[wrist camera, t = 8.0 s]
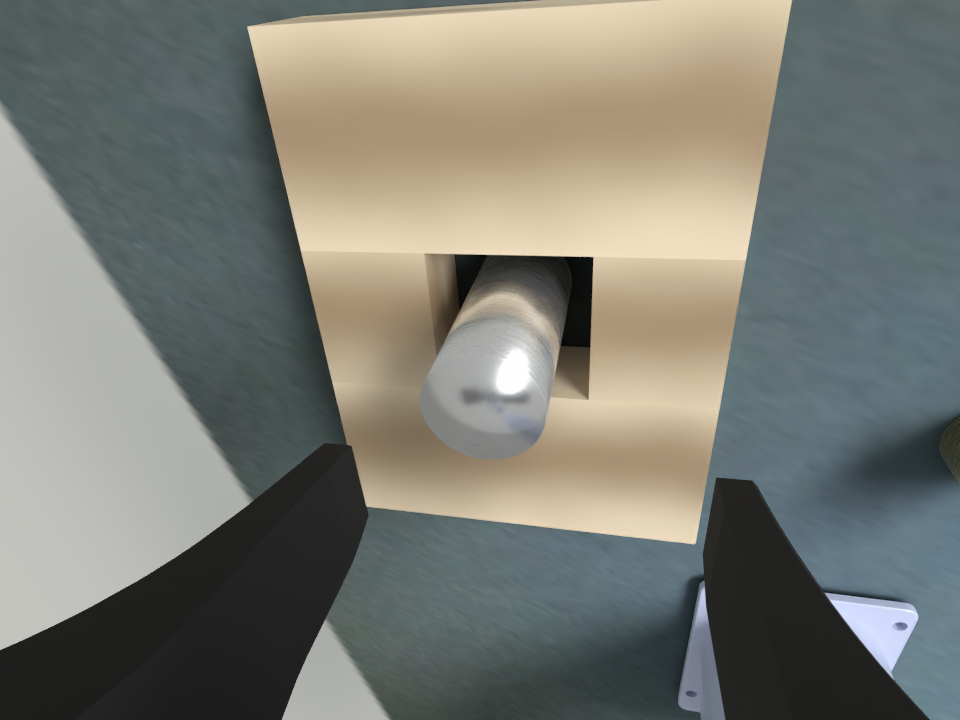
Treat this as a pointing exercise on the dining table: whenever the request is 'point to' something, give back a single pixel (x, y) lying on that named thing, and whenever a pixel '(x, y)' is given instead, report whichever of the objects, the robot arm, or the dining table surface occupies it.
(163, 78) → the dining table surface
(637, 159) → the hole block
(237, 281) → the dining table surface
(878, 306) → the dining table surface
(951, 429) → the short pin
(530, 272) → the long pin
